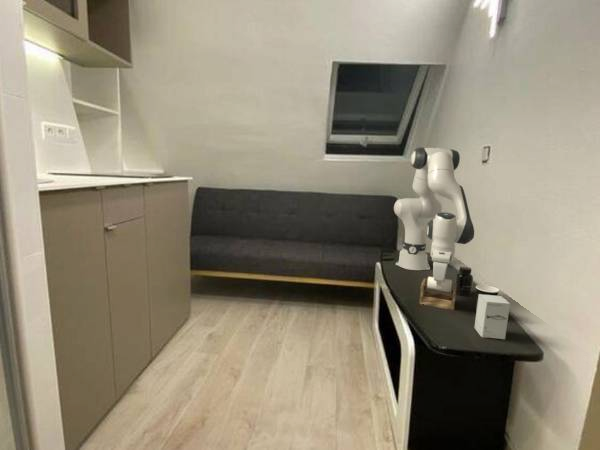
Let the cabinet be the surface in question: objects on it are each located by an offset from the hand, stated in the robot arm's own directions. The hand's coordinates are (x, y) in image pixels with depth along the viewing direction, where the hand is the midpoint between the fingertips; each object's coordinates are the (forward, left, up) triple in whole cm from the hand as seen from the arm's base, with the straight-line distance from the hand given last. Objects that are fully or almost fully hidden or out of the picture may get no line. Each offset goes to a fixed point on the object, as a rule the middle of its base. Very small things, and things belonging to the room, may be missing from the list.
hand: (439, 286), depth 141 cm
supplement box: (+21, +18, -8) cm, 28 cm away
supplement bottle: (-18, +9, -7) cm, 21 cm away
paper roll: (0, 0, +1) cm, 1 cm away
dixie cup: (+5, +17, -7) cm, 19 cm away
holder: (0, 0, -7) cm, 7 cm away
